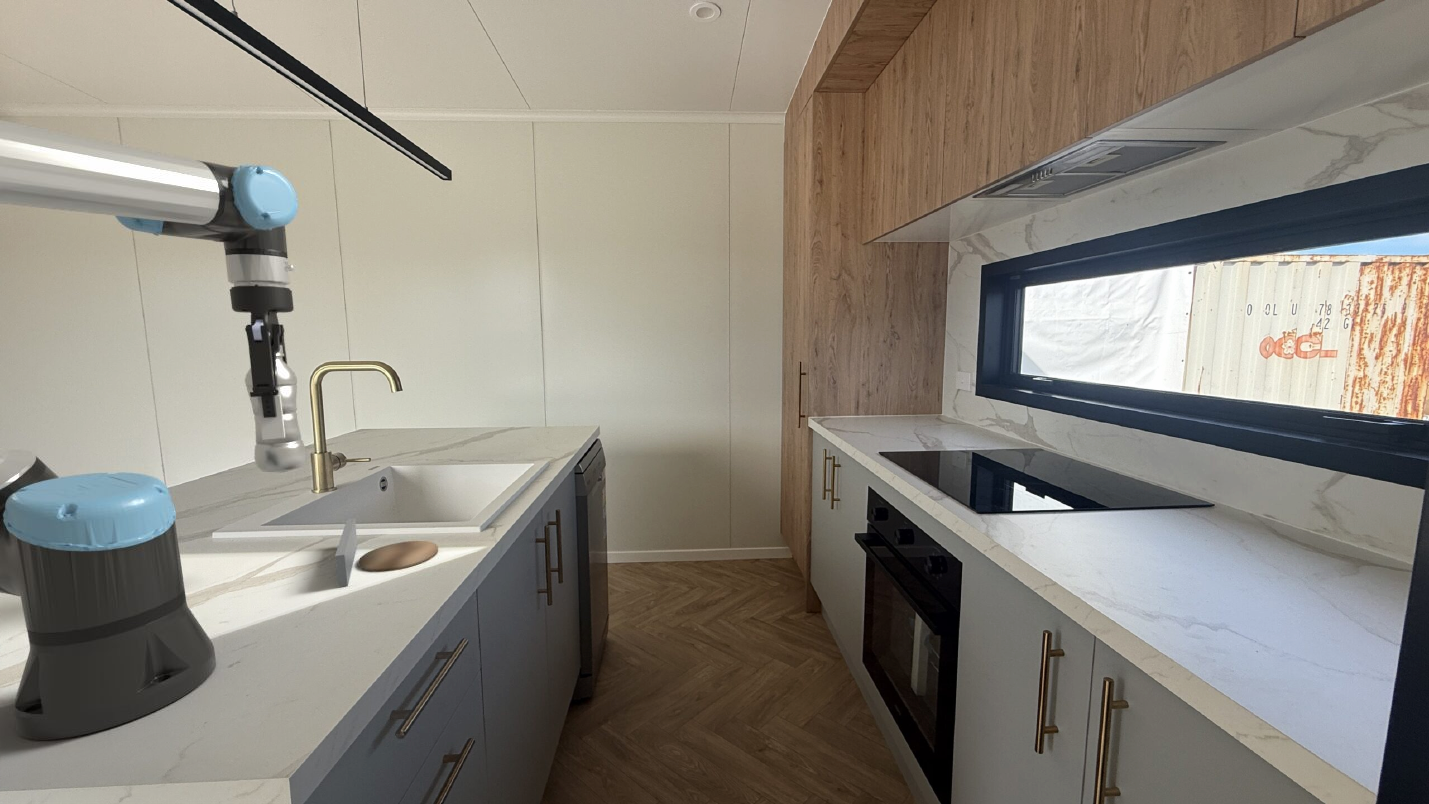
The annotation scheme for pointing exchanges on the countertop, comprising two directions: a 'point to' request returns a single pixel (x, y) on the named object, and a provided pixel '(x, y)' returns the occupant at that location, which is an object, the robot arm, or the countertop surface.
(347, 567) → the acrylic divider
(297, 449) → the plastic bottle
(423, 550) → the walnut coaster
